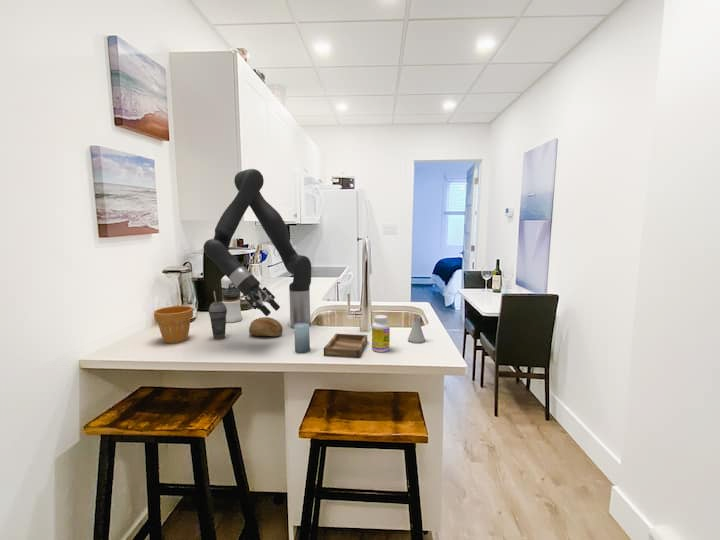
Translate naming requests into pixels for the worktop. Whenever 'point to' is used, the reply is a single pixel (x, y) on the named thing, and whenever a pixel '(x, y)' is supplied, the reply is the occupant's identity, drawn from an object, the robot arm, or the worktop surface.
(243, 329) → the worktop surface
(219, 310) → the beverage cup
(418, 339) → the flask
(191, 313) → the flower pot
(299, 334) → the blue rounded capsule
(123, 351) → the worktop surface
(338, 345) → the tray
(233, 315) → the vodka
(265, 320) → the bread roll
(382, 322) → the supplement bottle
